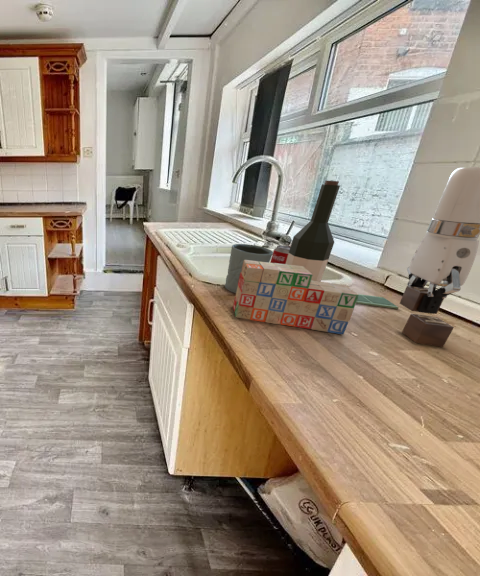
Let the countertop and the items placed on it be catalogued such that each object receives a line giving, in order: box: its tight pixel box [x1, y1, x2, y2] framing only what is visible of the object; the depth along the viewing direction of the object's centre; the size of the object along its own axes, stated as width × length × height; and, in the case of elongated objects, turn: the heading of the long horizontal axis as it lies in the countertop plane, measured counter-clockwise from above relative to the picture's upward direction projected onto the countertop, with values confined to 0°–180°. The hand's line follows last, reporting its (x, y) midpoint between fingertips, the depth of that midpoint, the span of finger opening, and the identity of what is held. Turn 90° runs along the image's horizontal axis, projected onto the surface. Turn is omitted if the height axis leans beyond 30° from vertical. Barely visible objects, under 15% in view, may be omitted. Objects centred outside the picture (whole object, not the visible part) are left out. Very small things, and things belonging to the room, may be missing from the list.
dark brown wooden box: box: [401, 313, 454, 348], centre depth 64 cm, size 5×5×5 cm
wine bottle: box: [286, 180, 341, 282], centre depth 74 cm, size 8×8×30 cm
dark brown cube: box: [399, 285, 445, 315], centre depth 70 cm, size 5×5×5 cm
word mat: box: [356, 293, 399, 310], centre depth 83 cm, size 11×7×1 cm, turn 75°
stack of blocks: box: [232, 260, 359, 335], centre depth 67 cm, size 21×6×12 cm, turn 73°
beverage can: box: [269, 245, 291, 264], centre depth 87 cm, size 6×6×12 cm
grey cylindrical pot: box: [224, 243, 273, 294], centre depth 84 cm, size 10×10×12 cm
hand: (418, 306), depth 71 cm, fingers closed on dark brown cube, 4 cm apart
